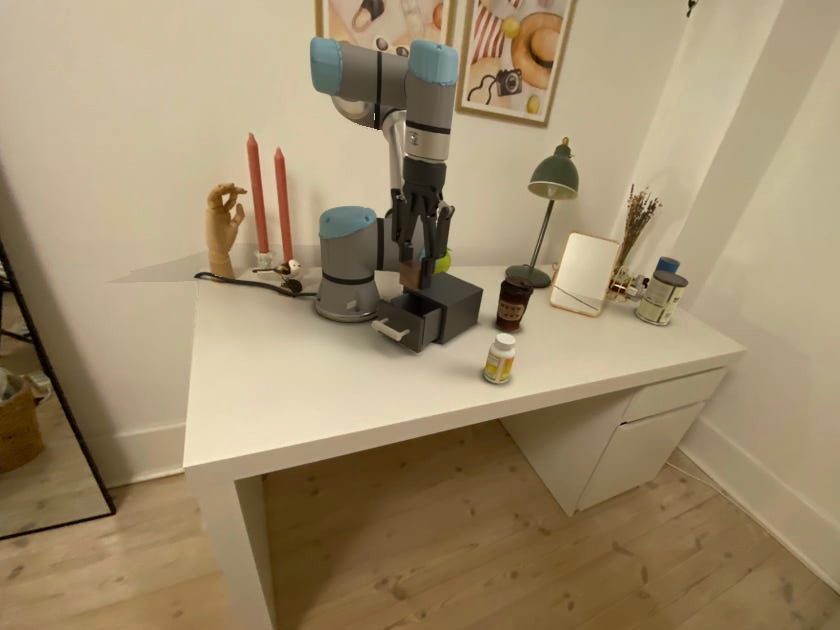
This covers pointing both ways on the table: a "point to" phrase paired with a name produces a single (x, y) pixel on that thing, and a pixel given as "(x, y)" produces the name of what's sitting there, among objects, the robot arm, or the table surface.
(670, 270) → the cup
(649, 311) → the coffee can
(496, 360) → the supplement bottle
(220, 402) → the table surface
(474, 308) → the cabinet
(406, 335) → the drawer
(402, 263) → the block
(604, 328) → the table surface
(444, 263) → the fruit
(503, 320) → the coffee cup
